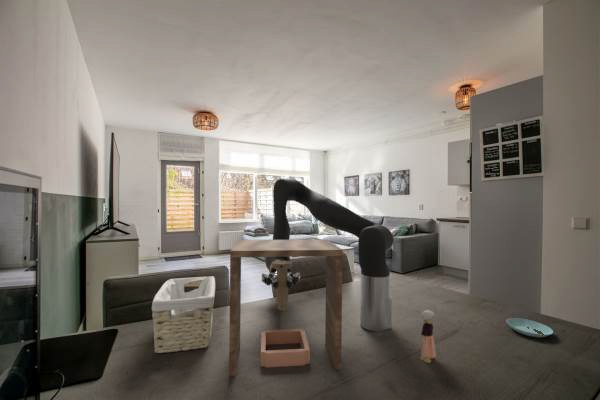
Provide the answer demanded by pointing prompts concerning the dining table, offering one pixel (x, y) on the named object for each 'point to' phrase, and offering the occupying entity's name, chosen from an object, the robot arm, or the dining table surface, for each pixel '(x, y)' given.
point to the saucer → (522, 325)
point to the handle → (282, 283)
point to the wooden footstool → (289, 250)
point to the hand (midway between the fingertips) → (282, 285)
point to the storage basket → (183, 314)
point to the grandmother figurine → (427, 337)
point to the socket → (284, 356)
